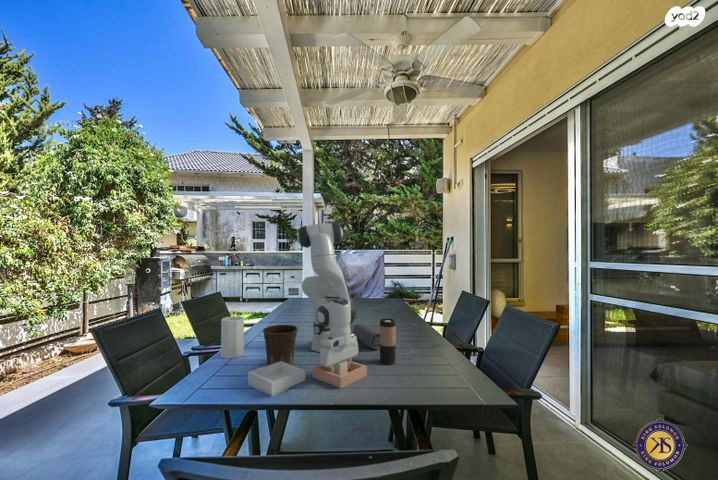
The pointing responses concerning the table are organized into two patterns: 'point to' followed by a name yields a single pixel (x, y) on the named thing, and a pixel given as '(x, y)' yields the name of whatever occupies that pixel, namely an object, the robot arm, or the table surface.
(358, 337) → the bluetooth speaker
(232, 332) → the cup
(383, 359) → the travel mug
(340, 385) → the terracotta bin
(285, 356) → the plant pot
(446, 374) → the table surface
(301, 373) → the light grey bin
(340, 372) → the sandstone block
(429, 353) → the table surface
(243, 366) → the table surface
